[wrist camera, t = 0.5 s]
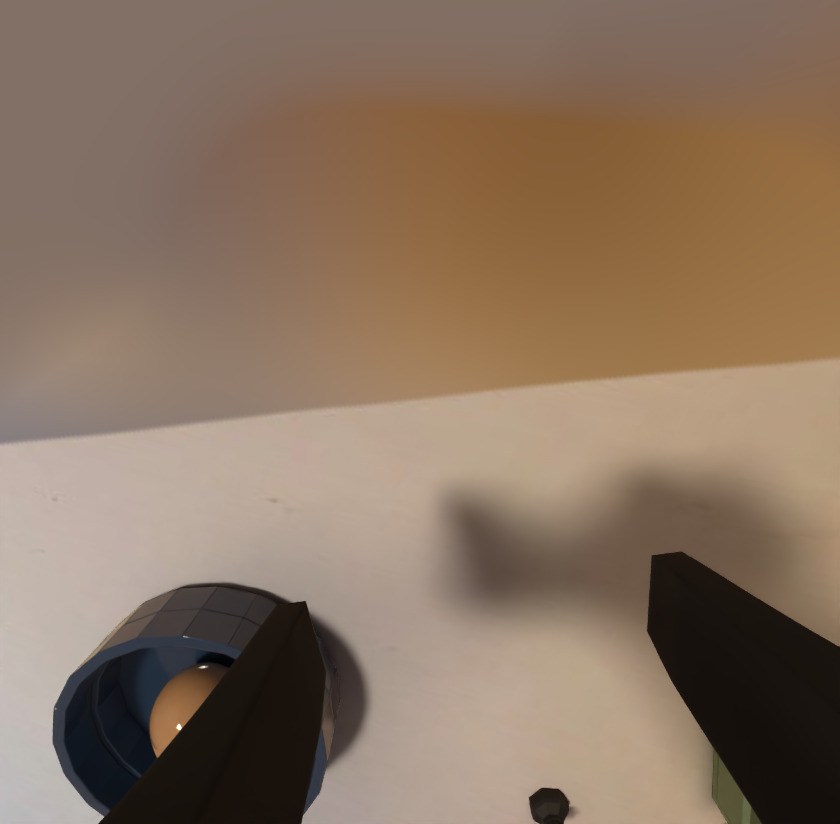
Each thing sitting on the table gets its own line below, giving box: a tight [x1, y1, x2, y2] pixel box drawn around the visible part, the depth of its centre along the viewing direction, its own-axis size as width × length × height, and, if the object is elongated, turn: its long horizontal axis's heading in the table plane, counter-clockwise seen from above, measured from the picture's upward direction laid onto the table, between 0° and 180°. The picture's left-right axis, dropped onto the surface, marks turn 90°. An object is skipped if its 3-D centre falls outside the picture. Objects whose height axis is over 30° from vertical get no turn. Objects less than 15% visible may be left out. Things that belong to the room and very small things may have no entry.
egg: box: [149, 661, 229, 758], centre depth 20 cm, size 5×4×4 cm
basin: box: [53, 586, 341, 817], centre depth 20 cm, size 11×11×4 cm
